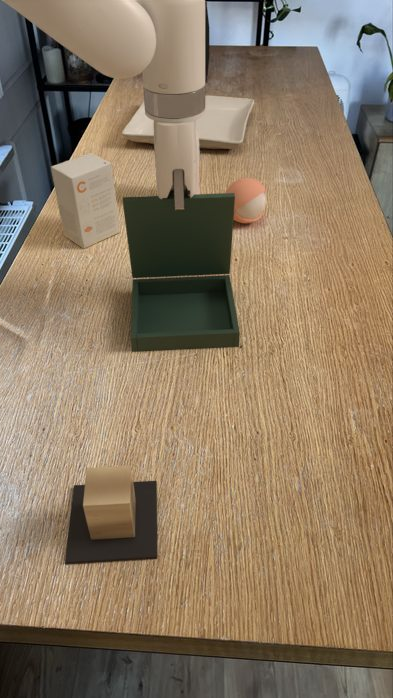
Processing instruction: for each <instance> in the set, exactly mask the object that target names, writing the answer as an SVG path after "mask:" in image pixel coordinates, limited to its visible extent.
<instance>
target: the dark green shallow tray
mask: <svg viewBox="0 0 393 698" xmlns="http://www.w3.org/2000/svg"><path fill="white" fill-rule="evenodd" d="M131 289H132V290H131V313H130V315H131V316H130V337H129V338H130V344H131V346H130V347H131V352H132V353H138V352H157V351H159V352H160V351H161V352H162V351H181V350H198V349H199V350H202V349H222V348H239V347H240V341H241V340H240V338H241V333H240V332H241V331H240V324H239V320H238V314H237V308H236V303H235V298H234V292H233V287H232V281H231V275H230V274H219V275H196V276H173V277H150V278H132V287H131Z"/></svg>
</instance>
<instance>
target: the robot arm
mask: <svg viewBox="0 0 393 698" xmlns="http://www.w3.org/2000/svg"><path fill="white" fill-rule="evenodd" d="M205 1H206V0H1V2H3V3H5V4H6V5H8V6H9V7H10V8H12V9H13V10H15V11H16V12H17V13H19V14H20V15H21V16H23V17H24V18H25V19H27V21H28V22H31V23H32V24H33V25H34V26H36V27H37V28H38V29H39V30H41V31H42V32H44V33H45V34H46V35H47V36H49V37H50V38H52V39H53V40H54V41H55V42H57V43H59V44H60V45H61V46H63V48H65V49H67V50H68V51H69V52H71V53H72V54H74V55H75V56H76V57H77V58H79V59H80V60H82V61H83V62H85V63H86V64H88V65H89V66H90V67H92V68H93V69H95V70H96V71H97V72H99V73H100V74H101V75H103V76H106V77H109V78H112V79H116V80H117V79H118V80H126V79H127V80H128V79H131V78H134V77H136V76H138V75H140V74H142V84H143V85H142V87H143V101H144V104H145V115H146V116H147V117H148V118H149V119H152V120H154V145H153V149H154V163H155V166H154V167H155V180H156V192H157V194H156V196H158V197H159V198H160V199H162V198H167V197H168V195H174V199H175V211H183V210H184V195H188V196H190V198H191V197H193V195H194V191H195V173H196V120H197V119H199V118H201V117H202V116H203V115H204V114H205V95H206V82H205Z"/></svg>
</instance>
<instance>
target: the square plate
mask: <svg viewBox="0 0 393 698" xmlns="http://www.w3.org/2000/svg"><path fill="white" fill-rule="evenodd" d="M254 105H255V99H253V98H244V97H235V96H233V97H232V96H223V95H209V94H207V95H206V94H205V114H204V115H203V116H202V117H201V118H199V119H197V120H196V130H197V133H198V137H199V149H207V150H219V149H220V150H221V149H226V150H227V149H228V150H230V149H231V150H232V149H235V148H238V147H239V146H240V145H241V144H243V141H244V138H245V134H246V128H247V123H248V121H249V117H250V114H251V111H252V109H253V107H254ZM121 135H122V136H124V137H125V138H126V139H127V140H129V141H132V142H136V143H147V144H149V143H150V144H149V145H153V144H154V120H152V119H149V118H148V117H147V116H146V115H145V104H144V100H143V101H142V103H141V104H140V106H139V107H138V108H137V110H136V112H135V113H134V114H133V115H132V117H131V118H130V120H129V121H128V123H127V124H126V125H125V127H124V129H122V132H121Z"/></svg>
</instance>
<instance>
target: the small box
mask: <svg viewBox="0 0 393 698" xmlns="http://www.w3.org/2000/svg"><path fill="white" fill-rule="evenodd" d="M50 170H51V175H52V180H53V185H54V186H53V187H54V190H55V196H56V202H57V207H58V210H59V217H60V222H61V228H62V232H63V236H64V237H65V238H67V239H68V240H69V241H70V242H71V241H72V242H73V243H74V244H76V245H77V246H79V247H81V248H82V249H86V248H89V247H91V246H93V245H95V244H97V243H100V242H101V241H104V240H106V239H108V238H111V237H113V236H115V235H117V234H120V233H121V230H120V229H121V228H120V219H119V213H118V204H117V195H116V188H115V179H114V170H113V164H112V162H109V161H108V160H106V159H105V158H102V157H101V156H98V155H96V154H94V153H92V152H88V153H85V154H82V155H80V156H77V157H74V158H71V159H69V160H65V161H63V162H60V163H57V164H55V165H52V166H50Z"/></svg>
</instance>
